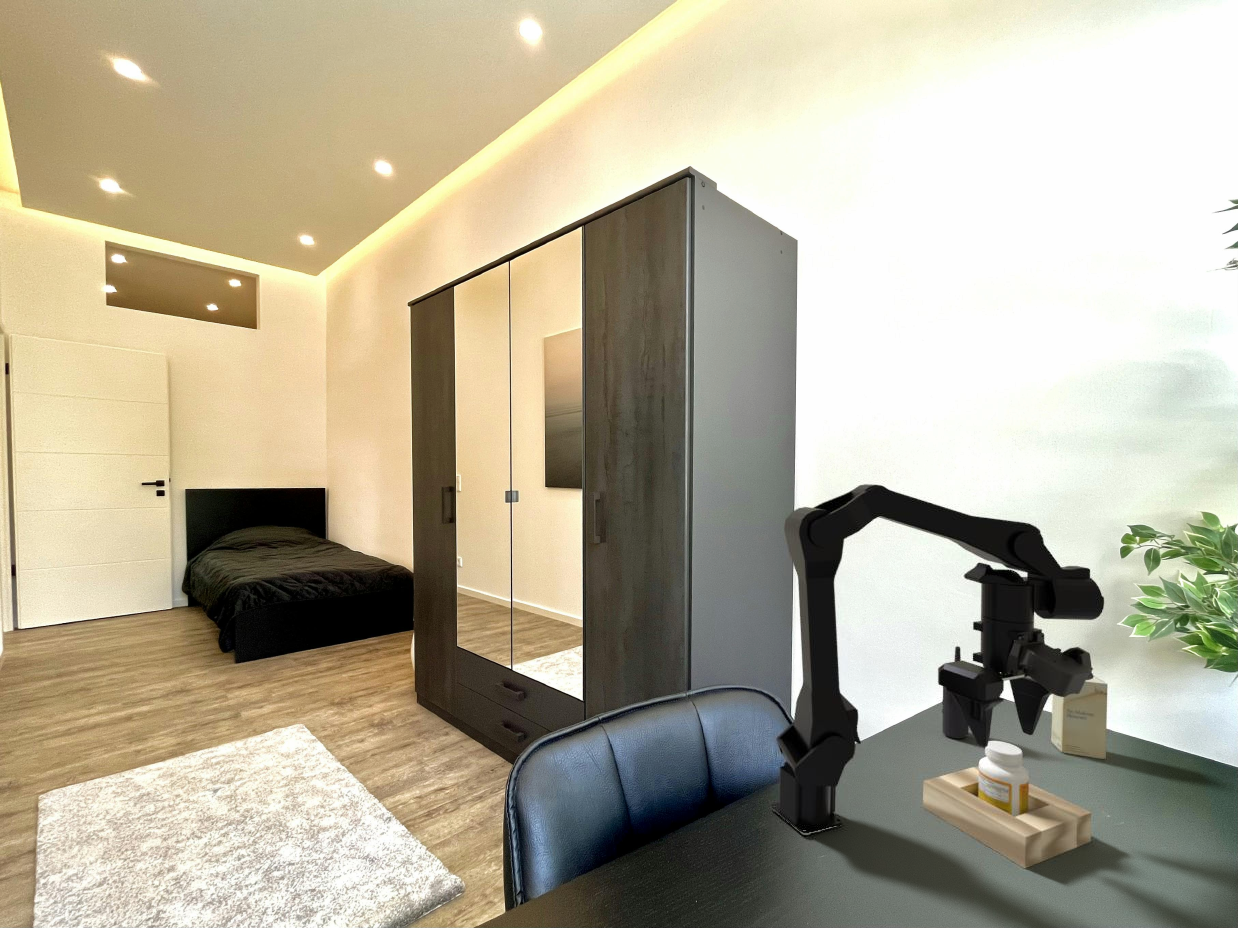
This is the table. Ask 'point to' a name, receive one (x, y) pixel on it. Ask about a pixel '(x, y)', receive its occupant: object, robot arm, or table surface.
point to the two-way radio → (953, 712)
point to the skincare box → (1081, 720)
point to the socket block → (1008, 819)
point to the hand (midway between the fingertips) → (1005, 739)
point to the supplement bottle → (1004, 778)
